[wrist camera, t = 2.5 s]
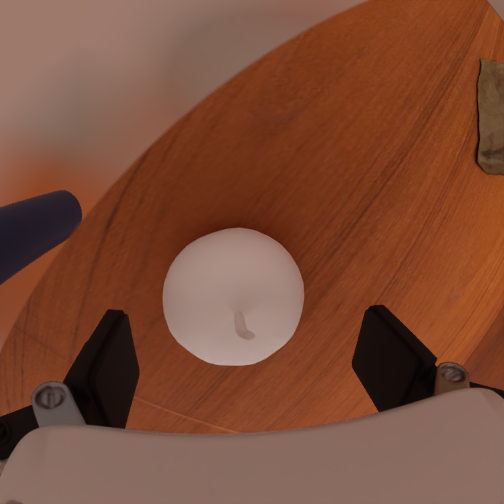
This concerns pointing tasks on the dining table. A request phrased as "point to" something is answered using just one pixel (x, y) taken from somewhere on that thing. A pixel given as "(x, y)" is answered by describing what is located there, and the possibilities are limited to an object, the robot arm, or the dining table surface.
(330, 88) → the dining table surface
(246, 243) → the apple
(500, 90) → the rock
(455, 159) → the dining table surface
